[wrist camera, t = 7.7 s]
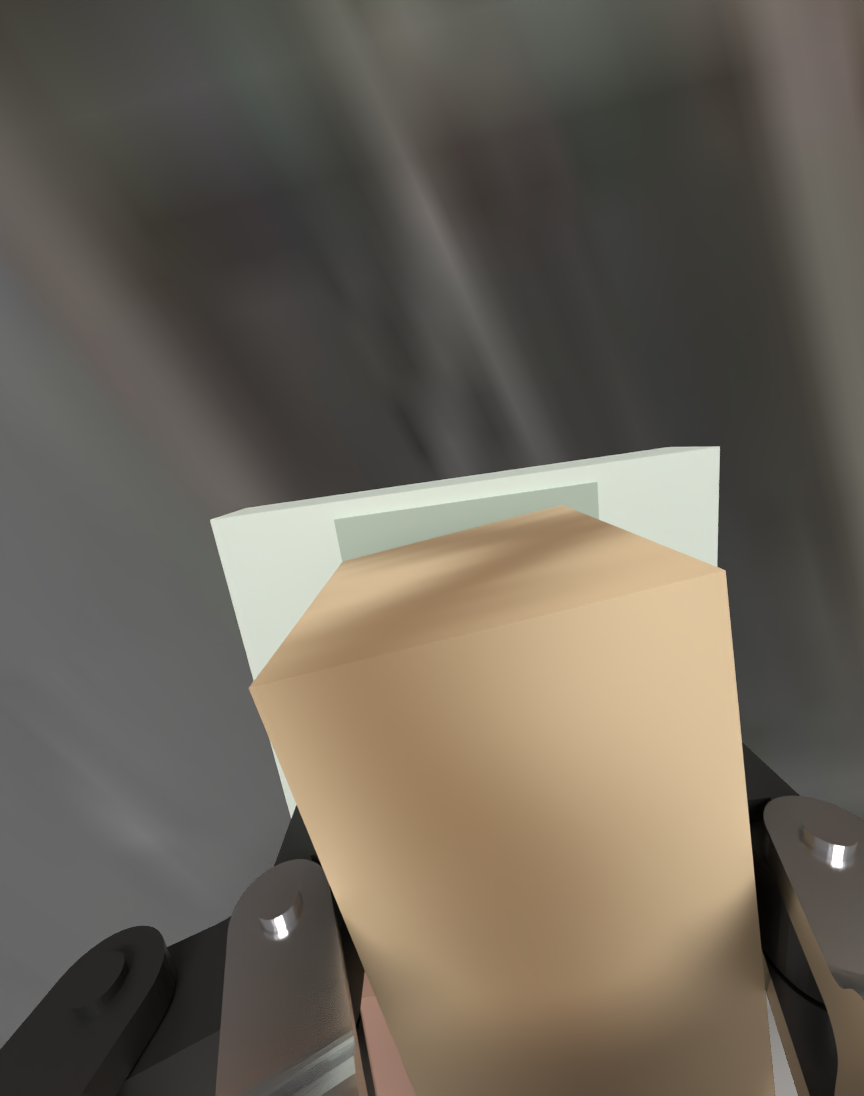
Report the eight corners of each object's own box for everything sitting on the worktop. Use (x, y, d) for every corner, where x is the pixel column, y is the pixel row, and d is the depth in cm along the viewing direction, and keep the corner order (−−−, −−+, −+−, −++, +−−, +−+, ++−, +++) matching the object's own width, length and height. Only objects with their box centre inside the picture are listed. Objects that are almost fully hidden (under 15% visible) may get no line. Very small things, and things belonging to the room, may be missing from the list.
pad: (669, 447, 11) (723, 446, 9) (671, 766, 14) (713, 820, 12) (246, 508, 12) (207, 520, 10) (321, 812, 14) (304, 874, 12)
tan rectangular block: (562, 504, 9) (724, 571, 4) (622, 828, 11) (778, 1127, 6) (342, 561, 9) (249, 688, 4) (441, 868, 11) (454, 1188, 6)
